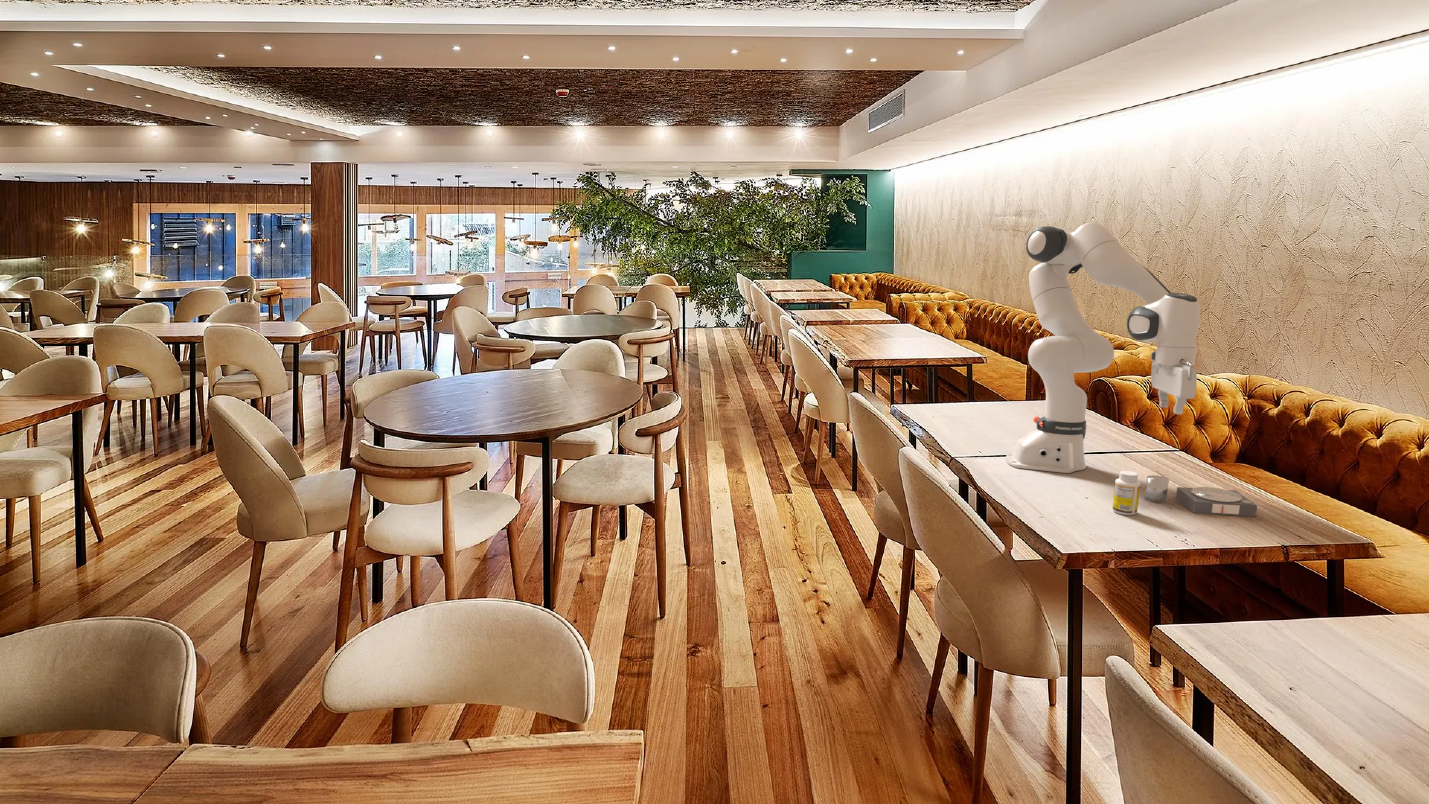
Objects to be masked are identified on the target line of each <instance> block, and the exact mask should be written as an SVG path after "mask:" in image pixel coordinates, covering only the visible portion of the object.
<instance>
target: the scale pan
mask: <svg viewBox="0 0 1429 804" xmlns="http://www.w3.org/2000/svg"><path fill="white" fill-rule="evenodd" d="M1192 488H1193V489H1191V494H1192V495H1194V496H1196V497H1198V498H1201V499H1205V500H1209V501H1214V502H1222V503H1236V502H1240V501H1241V500H1242V496H1241V495H1239V494H1237V493H1235V492H1232V491H1229V490H1230V489H1223V488H1218V487H1210V486H1197V487H1192Z"/></svg>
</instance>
